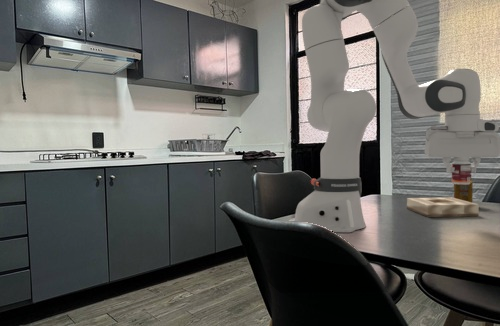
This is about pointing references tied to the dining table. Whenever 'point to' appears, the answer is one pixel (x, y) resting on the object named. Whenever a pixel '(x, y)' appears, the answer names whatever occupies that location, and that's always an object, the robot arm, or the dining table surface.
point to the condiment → (463, 191)
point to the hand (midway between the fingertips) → (461, 173)
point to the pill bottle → (461, 170)
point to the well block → (442, 207)
